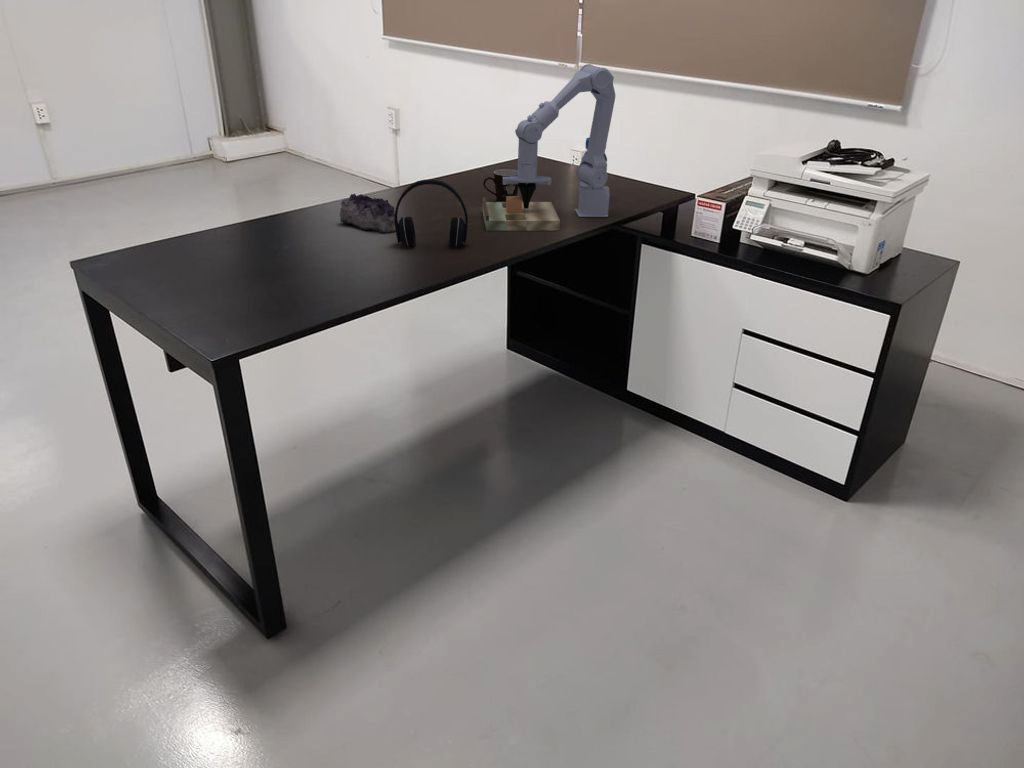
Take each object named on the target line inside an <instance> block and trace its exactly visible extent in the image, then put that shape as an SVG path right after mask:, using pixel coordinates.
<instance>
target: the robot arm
mask: <svg viewBox="0 0 1024 768" xmlns="http://www.w3.org/2000/svg"><path fill="white" fill-rule="evenodd" d="M614 77H615V76H613V74H612V73H611V72H610V71H609V69H608V68H606V67H600V66H596V65H593V64H590V63H587V64H584V65H583V66H582V67H580V69H579V70H577V71H575V73H574V75H573V76H572V78H571V79H570V80H569V81H568V83H567V84H566V85H565V86H564V87H562V89H561V90H560V91H559V92H558V93H557V94H556V95H555V96H554V98H552V100H550V101H549V100H548V101H544V102H540V103H539V104H538V108H536V110H534V111H533V113H531V115H530V114H529V115H527V119H523V120H521V121H520V122H519V123H518V124H517V127H516V129H515V131H514V133H515V136H516V137H517V138H518V149H517V151H518V152H517V171H518V176H510V177H503V185H507V184H518V190H519V191H520V194H521V195H520V196H521V198H522V202H523V206H524V209H528V208H529V203H530V202H531V199H532V197H533V195H534V193H535V192H536V189H537V185H548V186H552V178H551V176H539V175H538V174H537V172H538V150H539V149H538V147H539V146H538V143H539V141H541V139H542V135H543V132H544V131H545V130H546V129H547V128H548V127H549V126H550V125H551V124H553V122H554V121H556V119H558V117H559V114H560V110H561V109H562V108H563V107H565V105H567V104H568V103H569V102H571V100H573V99H574V98H575V97H577V95H578V94H579V93H585V92H588V93H589V92H590V93H591V94H592V96H593V98H595V105H594V111H593V116H592V117H593V118H592V123H591V127H590V133H589V137H590V138H589V137H588V138H589V143H588V149H586V151H587V153H586V152H585V153H586V154H585V153H584V154H585V155H584V154H583V156H582V157H581V161H580V164H579V165H578V167H577V169H576V177H577V179H578V180H579V191H578V206H577V207H578V208H574V211H575V213H576V214H577V216H578V217H579V218H608V217H609V207H610V196H611V195H610V188H609V186H608V185H606V184H607V181H608V177H609V175H608V171H607V170H608V163H607V162H608V161H607V162H606V160H605V157H604V154H606V149H607V142H608V137H609V132H610V127H611V122H612V121H611V120H612V116H613V113H614V112H613V111H614V107H615V101H616V91H615V88H614ZM605 148H606V149H605ZM604 184H605V186H603V185H604Z"/></svg>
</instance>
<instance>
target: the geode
mask: <svg viewBox="0 0 1024 768" xmlns="http://www.w3.org/2000/svg"><path fill="white" fill-rule="evenodd" d="M340 206H341V207H340V211H339V219H340V222H341V223H344V224H349V225H353V226H354V227H357V228H358V229H361V230H362V231H378V232H380V233H382V234H383V235H386V234H393V233H395V234H396V230H395V207H394V206H393V205H392V204H391V203H390V202H389V200H388V199H385V200H384V199H383V198H376V197H373V198H372V197H370V196H368V195H366V194H365V195H364V194H362V193H360V194H358V195H356V193H351V194H350V196H349V198H344V199H343V200H341V202H340Z"/></svg>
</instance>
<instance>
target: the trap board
mask: <svg viewBox="0 0 1024 768" xmlns="http://www.w3.org/2000/svg"><path fill="white" fill-rule="evenodd" d="M482 216H483V222H484V225H485V226H484V227H485V231H486V232H488V231H489V232H495V231H496V232H498V231H499V232H500V231H501V232H503V231H505V232H506V231H507V232H508V231H509V232H511V231H512V232H513V231H514V232H516V231H518V232H519V231H521V232H522V231H523V232H524V231H525V232H526V231H529V232H530V231H536V232H537V231H538V232H539V231H542V232H543V231H544V232H545V231H547V232H548V231H550V232H551V231H553V232H554V231H560V228H561V219H560V217H559V215H558V213H557V211H556V209H555V207H554V205H553V203H552V202H551V201H530V203H529V208H528V209H524V206H523V201H522V213H507V211H506V202H497V201H487V200H486V197H482Z"/></svg>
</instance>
